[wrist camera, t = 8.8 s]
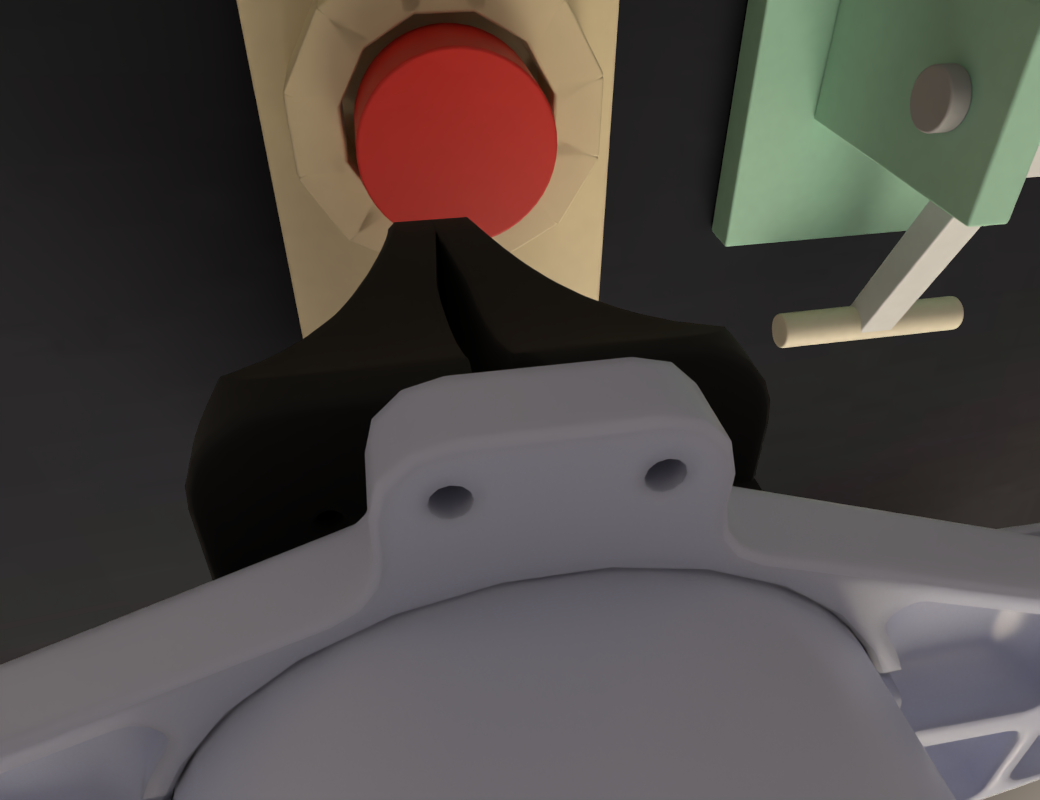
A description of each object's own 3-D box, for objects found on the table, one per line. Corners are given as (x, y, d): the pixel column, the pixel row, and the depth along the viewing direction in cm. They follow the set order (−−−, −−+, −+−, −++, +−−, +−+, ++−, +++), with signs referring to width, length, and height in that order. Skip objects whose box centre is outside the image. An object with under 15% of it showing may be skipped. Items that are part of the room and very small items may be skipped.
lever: (929, 292, 27) (959, 352, 26) (761, 309, 26) (784, 372, 25) (1193, -8, 17) (1257, 68, 16) (941, 3, 17) (992, 84, 15)
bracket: (964, 208, 27) (1163, 344, 21) (710, 230, 26) (838, 381, 19) (1130, -251, 20) (1520, -266, 13) (786, -253, 18) (1032, -270, 12)
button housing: (586, 296, 26) (615, 355, 24) (305, 323, 25) (302, 389, 22) (612, -145, 19) (658, -132, 16) (217, -140, 18) (196, -124, 15)
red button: (538, 202, 21) (555, 237, 19) (365, 215, 20) (368, 253, 18) (540, 17, 18) (561, 40, 16) (341, 25, 17) (342, 51, 16)
